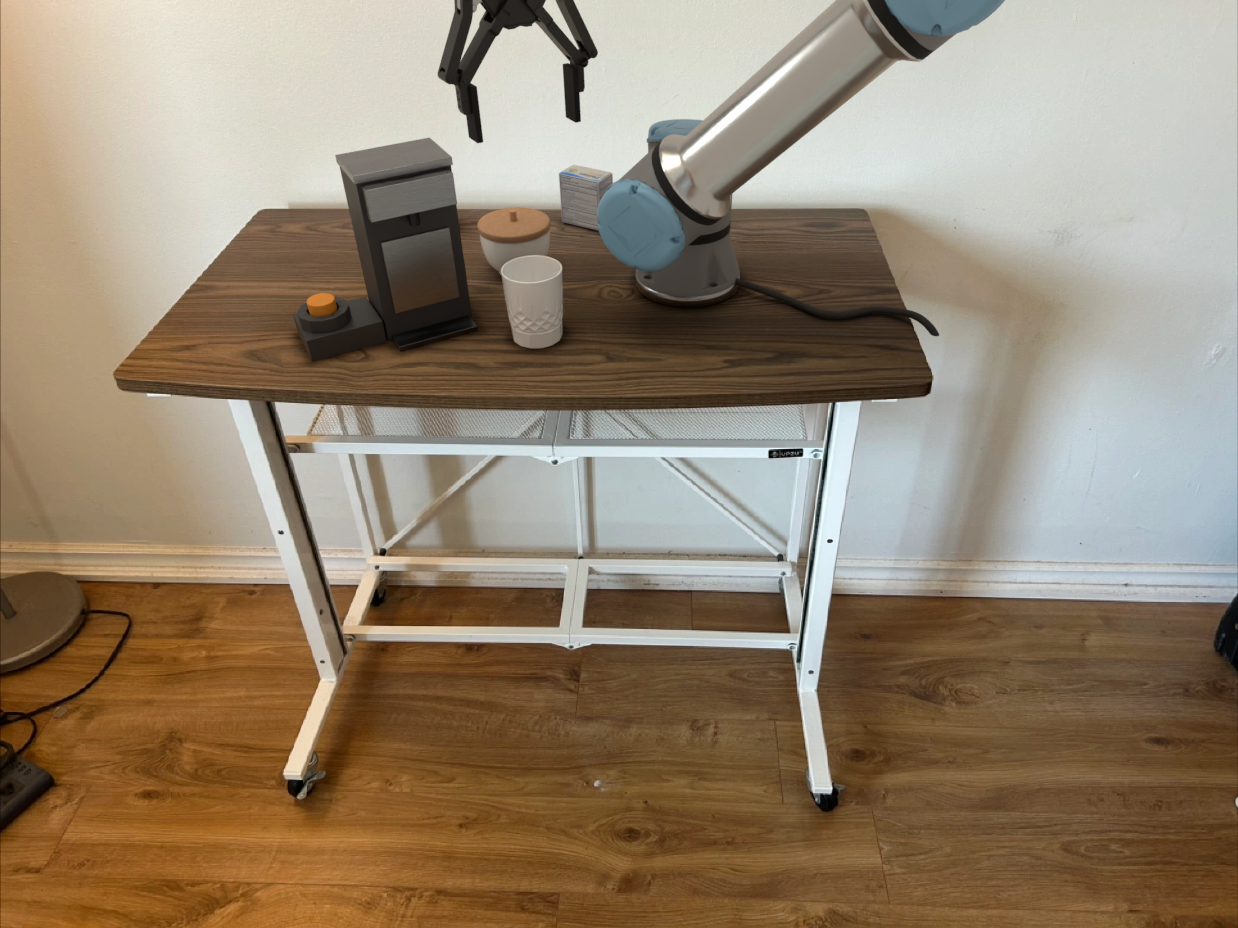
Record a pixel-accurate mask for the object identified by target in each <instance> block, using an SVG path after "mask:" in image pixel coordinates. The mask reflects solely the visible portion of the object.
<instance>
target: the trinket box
mask: <svg viewBox="0 0 1238 928" xmlns="http://www.w3.org/2000/svg"><path fill="white" fill-rule="evenodd" d="M477 232H478V234H479V241H480V246H481V250H482V252H483V256H484V258H485V259H486V261H487V263H488V264H489V265H490V266H491V268H493V269H494V270H495V271H497V272H498V274H500V275H501V268H502V266H503V265H504V264H505V263H507V262H508V261H510V260H512V259H515V258H518V257H522V256H530V255H540V256H547V257H548V255H549V253H550V247H551V219H550V217H549V216H548V214H547V213H545V212H543V211H541V210H539V209H535V208H531V207H521V206H519V207H518V206H517V207H506V208H500V209H497V210H493V211H491V212H488V213H486V214H484V215H483V216H482V217H480V218H479V220H478V221H477Z"/></svg>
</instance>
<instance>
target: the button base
mask: <svg viewBox="0 0 1238 928" xmlns="http://www.w3.org/2000/svg"><path fill="white" fill-rule="evenodd" d="M334 297H335V300H336V305H337V311H336V312H334V313H332V314H331V315H327V316H312V315H310V313H309V310H308V306H307V301H306V302H304V303H302V304H301V305H300V306H299V308H298V309H297V311H296V313H293V314H292V317H293V320H294V324H295V327H296V331H297V335H298V337H299V339H300V341H301V342H302V345H303V347H304V348H305V351H306V352H307V354H308V356H309V358H310V360H311V362H317V361H321V360H324V359H327V358H331V357H335V356H339V355H342V354H347V353H351V352H354V351H357V350H362V349H365V348H369V347H372V346H376V345H380V344H383V343H387V342H388V340H387V338H386V336H385V332H384V327H383V322H382V320H381V319H380V317H379V316H378V314H377V313H376V311H375V310H374V308H373V307H372V305H371V304H370V302H369V299H368V297H366V296H362V297H358V298H354V299H350V300H346V299H344V298H342V297H338V296H334Z"/></svg>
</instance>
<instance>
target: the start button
mask: <svg viewBox="0 0 1238 928" xmlns="http://www.w3.org/2000/svg"><path fill="white" fill-rule="evenodd" d="M335 297H336V296H335V295H334V294H332V293H328V292H320V293H316V294H313V295H311V296H309V297H308V298H307V300H306V302H307V306H308V310H309V313H310V315H312V316H327V315H331V314H332V313H334V312H336V311H337V305H336V300H335Z"/></svg>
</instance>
